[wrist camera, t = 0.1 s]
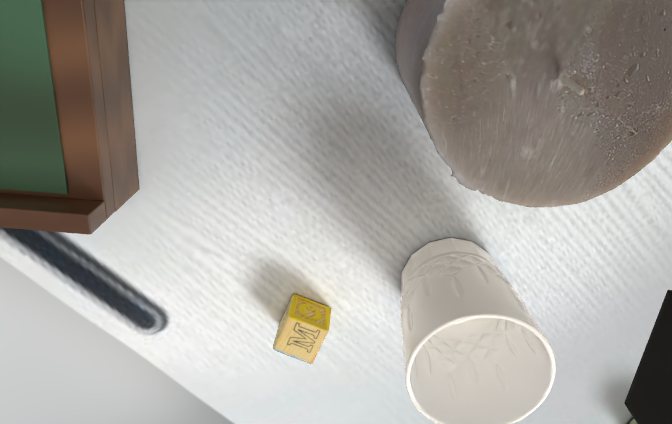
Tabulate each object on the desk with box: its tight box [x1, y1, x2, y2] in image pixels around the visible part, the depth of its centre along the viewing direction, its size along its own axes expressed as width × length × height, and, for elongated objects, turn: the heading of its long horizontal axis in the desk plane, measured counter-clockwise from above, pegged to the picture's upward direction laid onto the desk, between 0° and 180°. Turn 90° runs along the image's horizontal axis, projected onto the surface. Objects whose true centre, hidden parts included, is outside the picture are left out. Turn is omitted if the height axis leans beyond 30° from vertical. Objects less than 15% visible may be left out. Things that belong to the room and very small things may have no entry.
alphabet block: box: [273, 294, 331, 364], centre depth 37 cm, size 3×3×3 cm
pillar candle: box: [395, 0, 672, 207], centre depth 24 cm, size 10×10×15 cm
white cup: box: [401, 238, 556, 424], centre depth 32 cm, size 8×8×10 cm
